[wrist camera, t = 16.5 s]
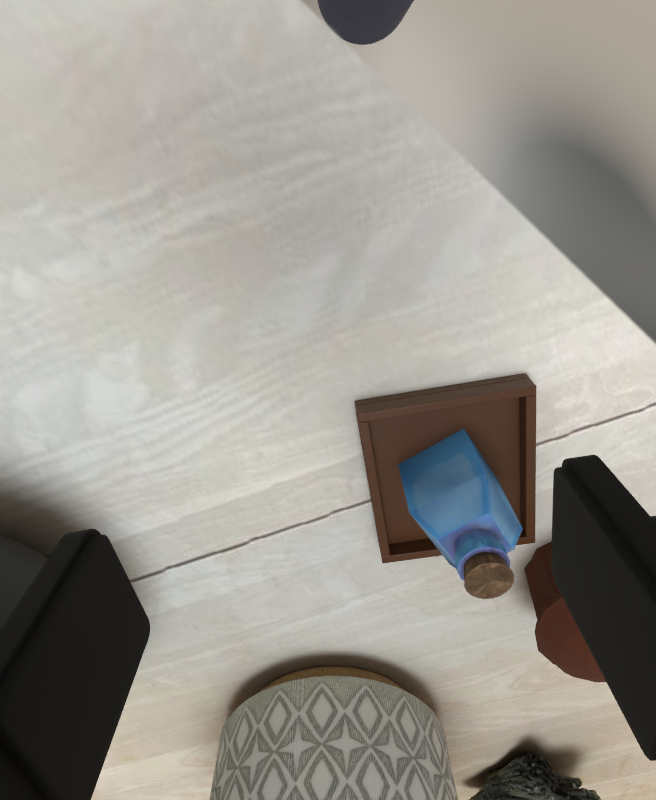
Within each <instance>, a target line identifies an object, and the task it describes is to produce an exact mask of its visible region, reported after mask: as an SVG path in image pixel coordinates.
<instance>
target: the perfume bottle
mask: <svg viewBox="0 0 656 800" xmlns="http://www.w3.org/2000/svg"><path fill="white" fill-rule="evenodd" d="M398 465H399V470H400V474H401V479H402V483H403V487H404V492H405V496H406V501H407V505H408V509H409V513H410V514H411V515H412V517H413V518H414V519H415V521H416V522H417V523H418V524H419V526H420V527H421V528H422V529H423V531H424V532H425V533H426V534H427V536H428V537H429V538H430V540H431V541H432V542H433V543H434V545H435V546H436V547H437V548H438V550H439V551H440V552H441V554H442V555H443V556H444V557H445V559H446V560H447V561H448V562H449V564H450V565H452V566H453V567H455V568H456V569H457V571H458V574H459V576H460V578H461V579H462V580H464V584H465V588H466V590H467V592H468V593H469V594H471V595H472V596H474V597H477V598H482V599H490V598H495V597H498V596H501V595H502V594H504V593H506V592H507V591H508V590H509V589H510V588H511V587H512V584H513V582H514V575H513V572H512V570H511V569H510V560H509V558H508V555H507V553H508V552H510V551H512V550H514V548H515V546H516V544H517V541H518V539H519V536H520V534H521V532H522V529H523V528H522V526H521V524H520V522H519V520H518V518H517V516H516V515H515V513H514V511H513V509H512V507H511V505H510V503H509V501H508V499H507V497H506V495H505V493H504V491H503V489H502V487H501V485H500V483H499V481H498V479H497V478H496V476H495V475H494V473H493V472H492V470H491V469H490V467H489V466H488V464H487V463H486V461H485V460H484V458H483V457H482V455H481V454H480V452H479V451H478V449H477V448H476V446H475V445H474V443H473V441H472V440H471V438H470V437H469V435H468V434H467V432H466V431H465V429H464V428H463V429H461V430H460V431H458V432H456V433H454V434H452V435H451V436H449V437H447V438H445V439H443V440H442V441H440V442H438V443H436V444H434V445H433V446H431V447H429V448H427V449H425V450H424V451H422V452H420V453H418V454H416V455H415V456H413V457H411V458H409V459H407V460H406V461H404V462H402V463H400V464H398Z"/></svg>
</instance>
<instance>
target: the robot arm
mask: <svg viewBox="0 0 656 800" xmlns="http://www.w3.org/2000/svg"><path fill="white" fill-rule="evenodd" d="M551 569H552V574H553V578H554V581H555V583H556V586H557V588H558V590H559V591H560V593H561V595H562V597H563V599H564V601H565V603H566V605H567V607H568V609H569V611H570V613H571V615H572V616H573V618H574V620H575V622H576V624H577V626H578V628H579V630H580V632H581V634H582V636H583V638H584V639H585V641H586V643H587V645H588V647H589V649H590V651H591V653H592V655H593V657H594V659H595V661H596V663H597V664H598V666H599V668H600V670H601V672H602V674H603V676H604V678H605V680H606V682H607V684H608V686H609V688H610V689H611V691H612V693H613V695H614V697H615V699H616V701H617V703H618V705H619V707H620V709H621V711H622V713H623V714H624V716H625V718H626V720H627V722H628V724H629V726H630V728H631V730H632V732H633V734H634V736H635V738H636V739H637V741H638V743H639V745H640V747H641V749H642V751H643V752H644V754H645V755H646V757H647V758H648V759H649V760H651V761H653V760H656V516H651V517H650V516H649V515H648V513H647V512H646V511H645V510H644V509H643V508H642V506H641V505H640V504H639V503H638V502H637V501H636V500H635V498H634V497H633V496H632V495H631V494H630V493H629V491H628V490H627V489H626V488H625V487H624V486H623V485H622V483H621V482H620V481H619V480H618V479H617V478H616V476H615V475H614V474H613V473H612V472H611V471H610V470H609V468H608V467H607V466H606V465H605V464H604V463H603V461H602V460H601V459H600V458H599V457H598V456H596V455H589V456H582V457H576V458H569V459H565V460H564V461H563V463H562V467H559V468H555V470H554V483H553V519H552V556H551ZM149 633H150V624H149V620H148V617H147V615H146V613H145V611H144V609H143V607H142V605H141V603H140V601H139V599H138V597H137V595H136V593H135V591H134V589H133V587H132V585H131V583H130V581H129V579H128V577H127V575H126V573H125V571H124V569H123V567H122V565H121V563H120V561H119V559H118V557H117V555H116V553H115V551H114V549H113V547H112V545H111V542H110V540H109V539H108V537H107V536H106V535H101V534H100V532H99V531H97V530H96V529H89V530H83V531H76V532H69V533H67V534H65V535H64V536H63V537H62V538H61V540H60V541H59V543H58V544H57V546H56V547H55V548H54V550H53V551H52V553H51V554H50V556H49V557H48V559H47V560H46V562H45V563H44V565H43V566H42V568H41V569H40V571H39V572H38V574H37V575H36V577H35V578H34V580H33V581H32V583H31V584H30V586H29V587H28V589H27V590H26V592H25V593H24V595H23V596H22V598H21V599H20V601H19V602H18V604H17V605H16V607H15V608H14V610H13V611H12V613H11V614H10V616H9V617H8V619H7V620H6V622H5V623H4V625H3V626H2V628H1V629H0V800H91V797H92V794H93V792H94V789H95V786H96V783H97V780H98V778H99V775H100V772H101V769H102V766H103V764H104V761H105V758H106V755H107V752H108V750H109V747H110V744H111V741H112V739H113V736H114V733H115V730H116V727H117V725H118V722H119V719H120V716H121V713H122V711H123V708H124V705H125V702H126V699H127V697H128V694H129V691H130V688H131V686H132V683H133V680H134V677H135V674H136V672H137V669H138V666H139V663H140V660H141V658H142V655H143V652H144V649H145V646H146V644H147V641H148V638H149Z"/></svg>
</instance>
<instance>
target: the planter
mask: <svg viewBox="0 0 656 800" xmlns="http://www.w3.org/2000/svg"><path fill="white" fill-rule="evenodd" d="M210 800H458V799H457V794H456V789H455V784H454V779H453V774H452V769H451V764H450V759H449V754H448V749H447V744H446V739H445V735H444V731H443V727H442V725H441V723H440V721H439V719H438V717H437V716H436V714H435V713H434V712H433V711H432V710H431V709H430V708H429V707H428V706H427V705H426V704H425V703H424V702H422V701H421V700H420V699H418V698H417V697H415V696H414V695H412V694H410V693H408V692H406V691H405V690H404V689H403V688H402V687H401V686H399V685H398V684H397V683H395V682H393V681H392V680H390V679H388V678H386V677H384V676H382V675H379V674H376V673H374V672H370V671H367V670H363V669H358V668H351V667H339V666H327V667H315V668H309V669H303V670H300V671H296V672H293V673H290V674H287V675H285V676H283V677H280V678H278V679H276V680H275V681H273V682H271V683H270V684H268V685H267V686H265V687H264V688H263V689H262V690H261V691H259V693H257V694H256V695H254V696H252V697H251V698H249V699H247V700H246V701H245V702H243V703H242V704H241V705H240V706H239V707H237V708H236V709H235V711H234V712H233V713H232V714H231V715H230V717H229V718H228V719H227V721H226V723H225V725H224V727H223V729H222V734H221V738H220V744H219V749H218V755H217V761H216V766H215V772H214V778H213V783H212V789H211V795H210Z"/></svg>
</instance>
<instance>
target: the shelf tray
mask: <svg viewBox="0 0 656 800" xmlns="http://www.w3.org/2000/svg"><path fill="white" fill-rule="evenodd" d="M355 406H356V415H357V421H358V426H359V432H360V438H361V443H362V449H363V455H364V461H365V466H366V472H367V478H368V483H369V489H370V495H371V500H372V506H373V512H374V517H375V523H376V529H377V534H378V540H379V546H380V551H381V557H382V563H389V562H396V561H403V560H411V559H418V558H425V557H433V556H440V555H442V554H441V552H440V551H439V550H438V548H437V547H436V546H435V545H434V543H433V542H432V541H431V540H430V538H429V537H428V536H427V534H426V533H425V532H424V531H423V529H422V528H421V527H420V526H419V524H418V523H417V522H416V521H415V519H414V518H413V517H412V515H411V514H410V513H409V509H408V505H407V501H406V496H405V492H404V487H403V483H402V479H401V474H400V470H399V465H398V464H400V463H402V462H404V461H406V460H407V459H409V458H411V457H413V456H415V455H416V454H418V453H420V452H422V451H424V450H425V449H427V448H429V447H431V446H433V445H434V444H436V443H438V442H440V441H442V440H443V439H445V438H447V437H449V436H451V435H452V434H454V433H456V432H458V431H460V430H461V429H463V428H464V429H465V431H466V432H467V434H468V435H469V437H470V438H471V440H472V441H473V443H474V445H475V446H476V448H477V449H478V451H479V452H480V454H481V455H482V457H483V458H484V460H485V461H486V463H487V464H488V466H489V467H490V469H491V470H492V472H493V473H494V475H495V476H496V478H497V479H498V481H499V483H500V485H501V487H502V489H503V491H504V493H505V495H506V497H507V499H508V501H509V503H510V505H511V507H512V509H513V511H514V513H515V515H516V516H517V518H518V520H519V522H520V524H521V526H522V528H523V529H522V532H521V534H520V536H519V539H518V541H517V544H516V545H521V544H528V543H535V473H536V385H535V384H534V383H533V382H532V381H531V380H530V378H529V377H528V376H527V375H526V374H520V375H514V376H508V377H502V378H496V379H489V380H483V381H477V382H471V383H465V384H458V385H452V386H446V387H440V388H434V389H427V390H421V391H415V392H409V393H403V394H396V395H390V396H384V397H378V398H372V399H365V400H359V401H355Z"/></svg>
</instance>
